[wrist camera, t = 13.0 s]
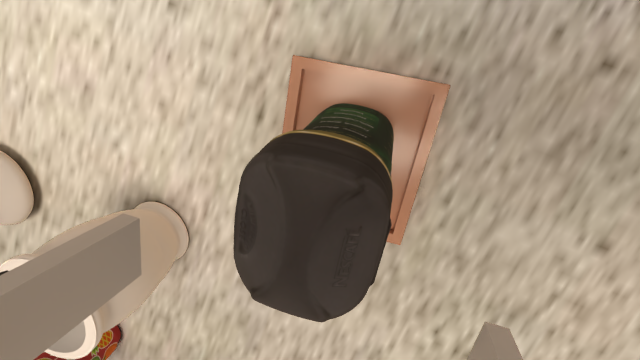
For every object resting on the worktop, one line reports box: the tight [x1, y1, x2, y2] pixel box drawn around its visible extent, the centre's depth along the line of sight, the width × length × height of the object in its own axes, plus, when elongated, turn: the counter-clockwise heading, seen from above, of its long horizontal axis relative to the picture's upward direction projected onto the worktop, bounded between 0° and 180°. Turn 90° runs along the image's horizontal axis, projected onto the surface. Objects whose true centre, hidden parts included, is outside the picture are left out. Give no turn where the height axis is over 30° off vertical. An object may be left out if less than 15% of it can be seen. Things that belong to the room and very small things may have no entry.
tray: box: [282, 55, 450, 245], centre depth 31 cm, size 14×16×2 cm
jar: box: [0, 202, 189, 359], centre depth 34 cm, size 11×10×15 cm
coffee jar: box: [234, 103, 394, 322], centre depth 23 cm, size 10×8×19 cm
